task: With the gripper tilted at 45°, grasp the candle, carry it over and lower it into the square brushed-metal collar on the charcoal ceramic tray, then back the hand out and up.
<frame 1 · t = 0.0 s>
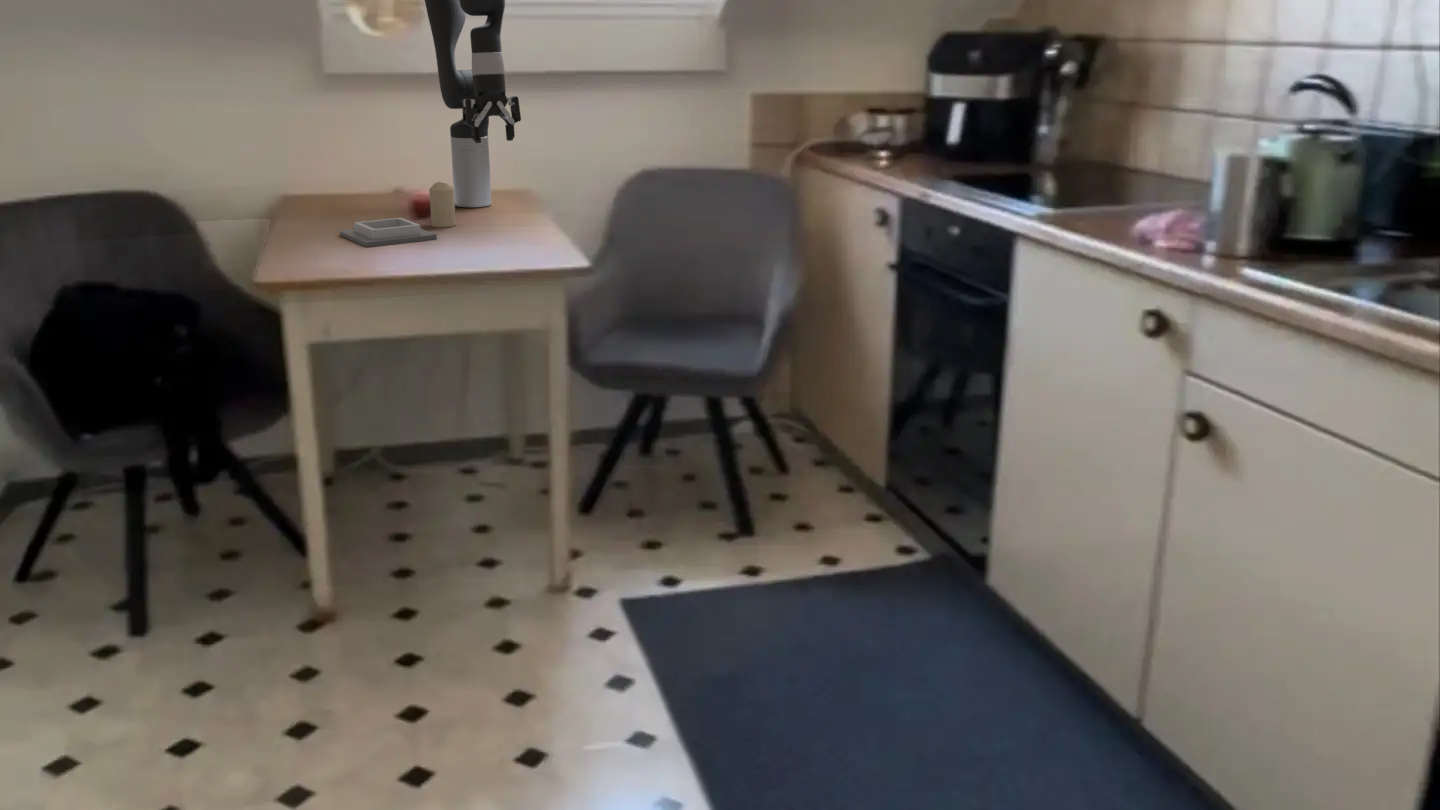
hand: (493, 141, 300), 17 cm above the table, tool pointing down, fingers open, 8 cm apart
candle: (443, 226, 289), on the table
candle tray: (388, 237, 275), on the table
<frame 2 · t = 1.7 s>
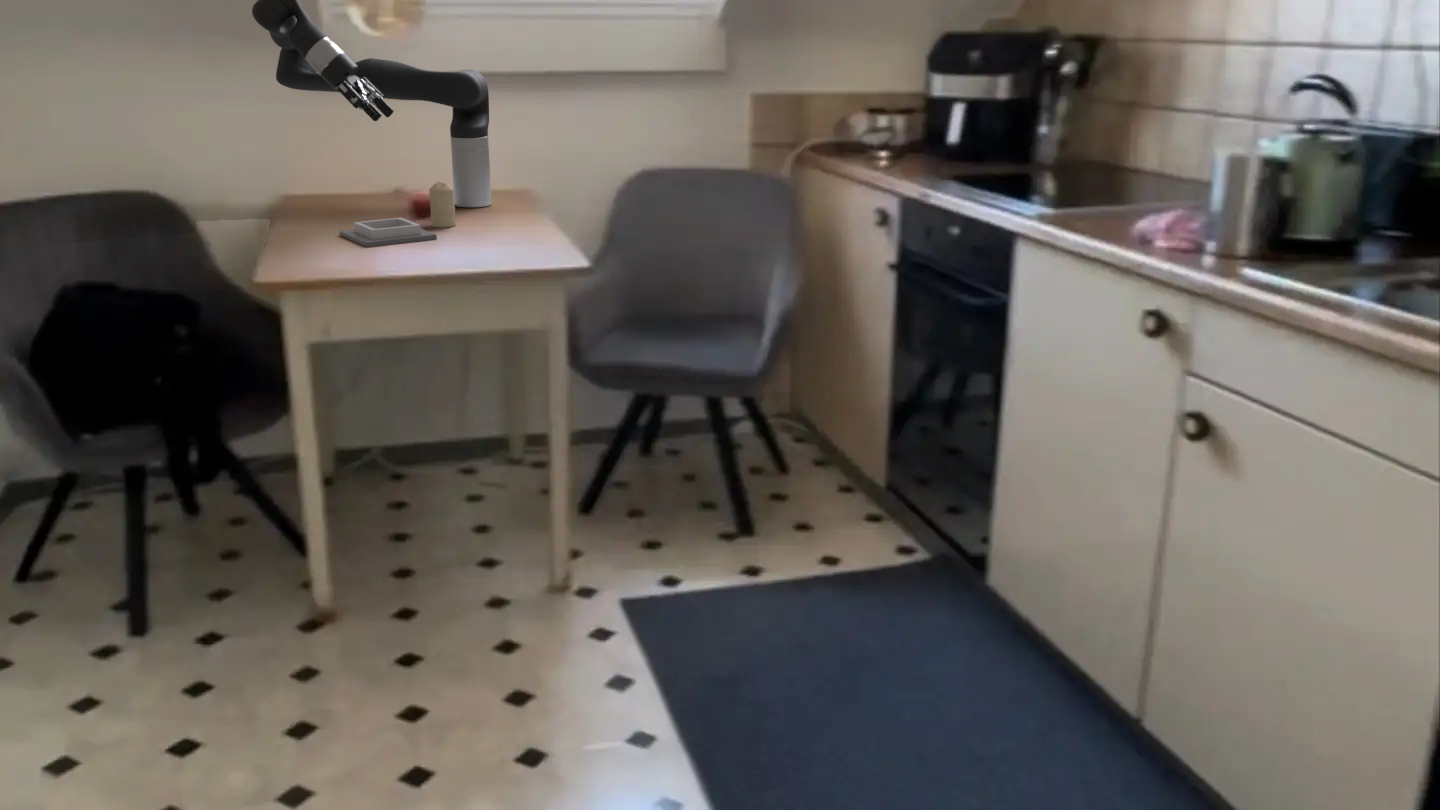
hand: (385, 116, 282), 25 cm above the table, tool tilted 45°, fingers open, 8 cm apart
nothing on the table moved.
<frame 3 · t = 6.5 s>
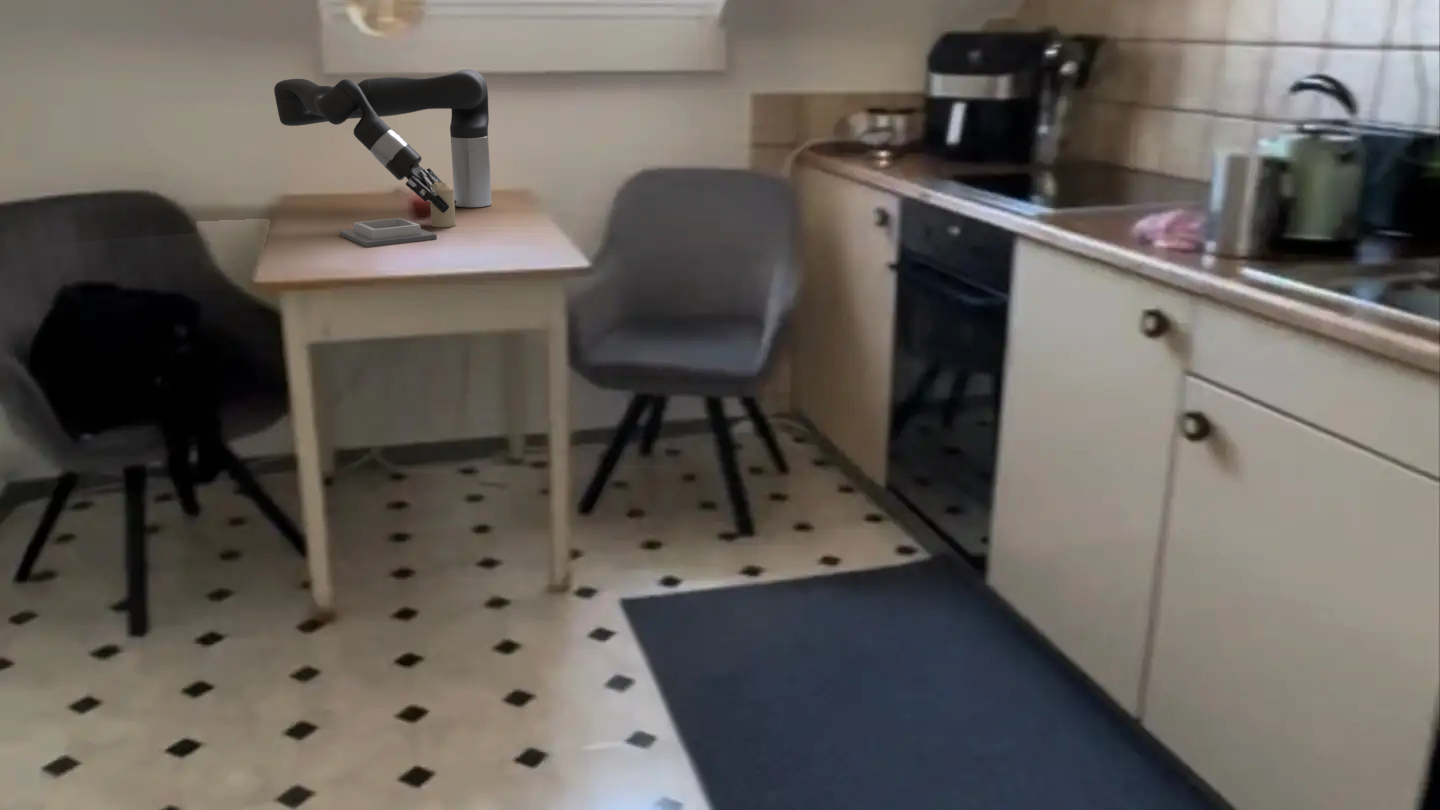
hand: (450, 207, 287), 4 cm above the table, tool tilted 45°, fingers closed on candle, 5 cm apart
candle: (443, 226, 289), on the table, touching gripper
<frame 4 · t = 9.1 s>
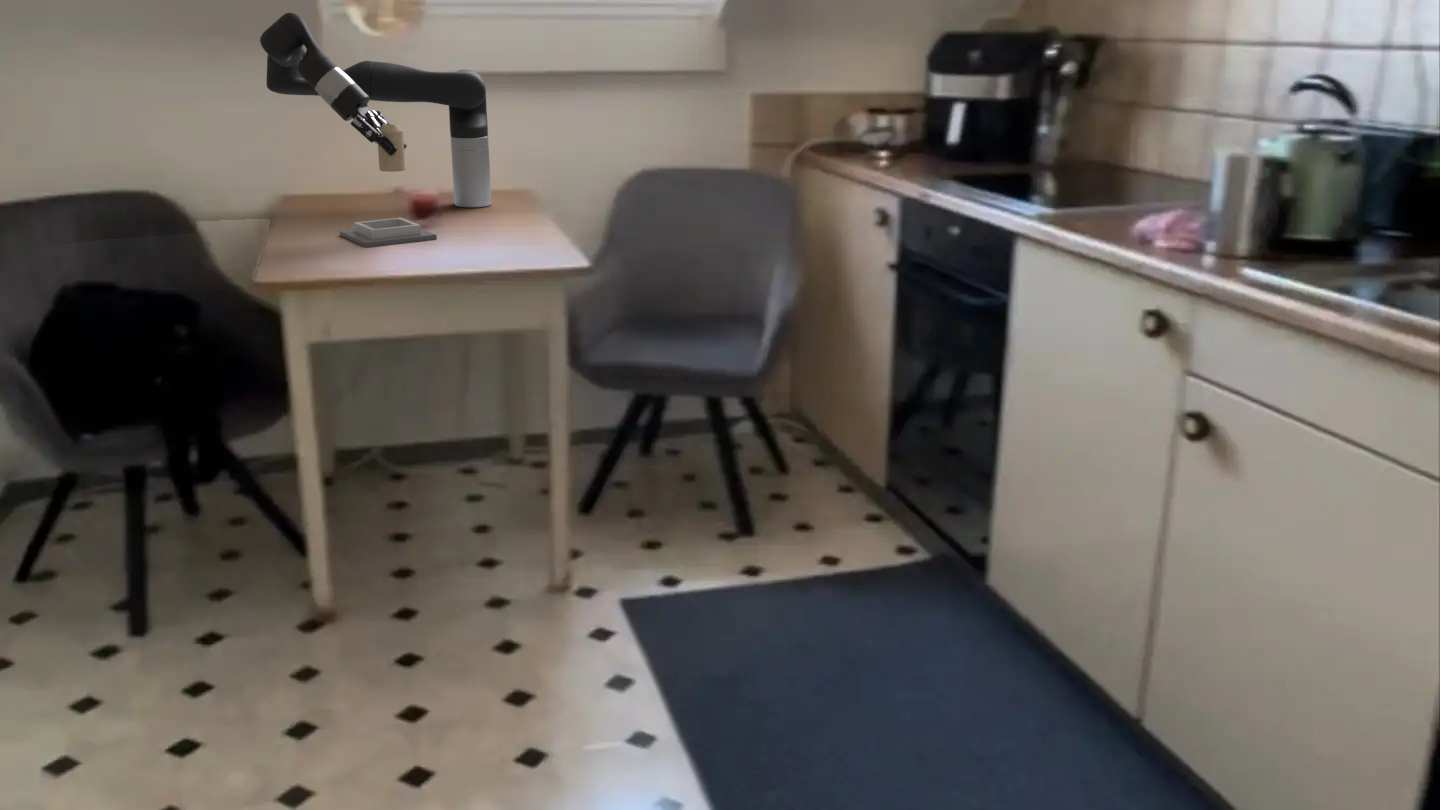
hand: (399, 150, 272), 19 cm above the table, tool tilted 45°, fingers closed on candle, 5 cm apart
candle: (392, 171, 274), point 14 cm above the table, touching gripper
when the fingers open (6 cm above the table, at t = 12.2 s): candle drops 1 cm, resting on candle tray.
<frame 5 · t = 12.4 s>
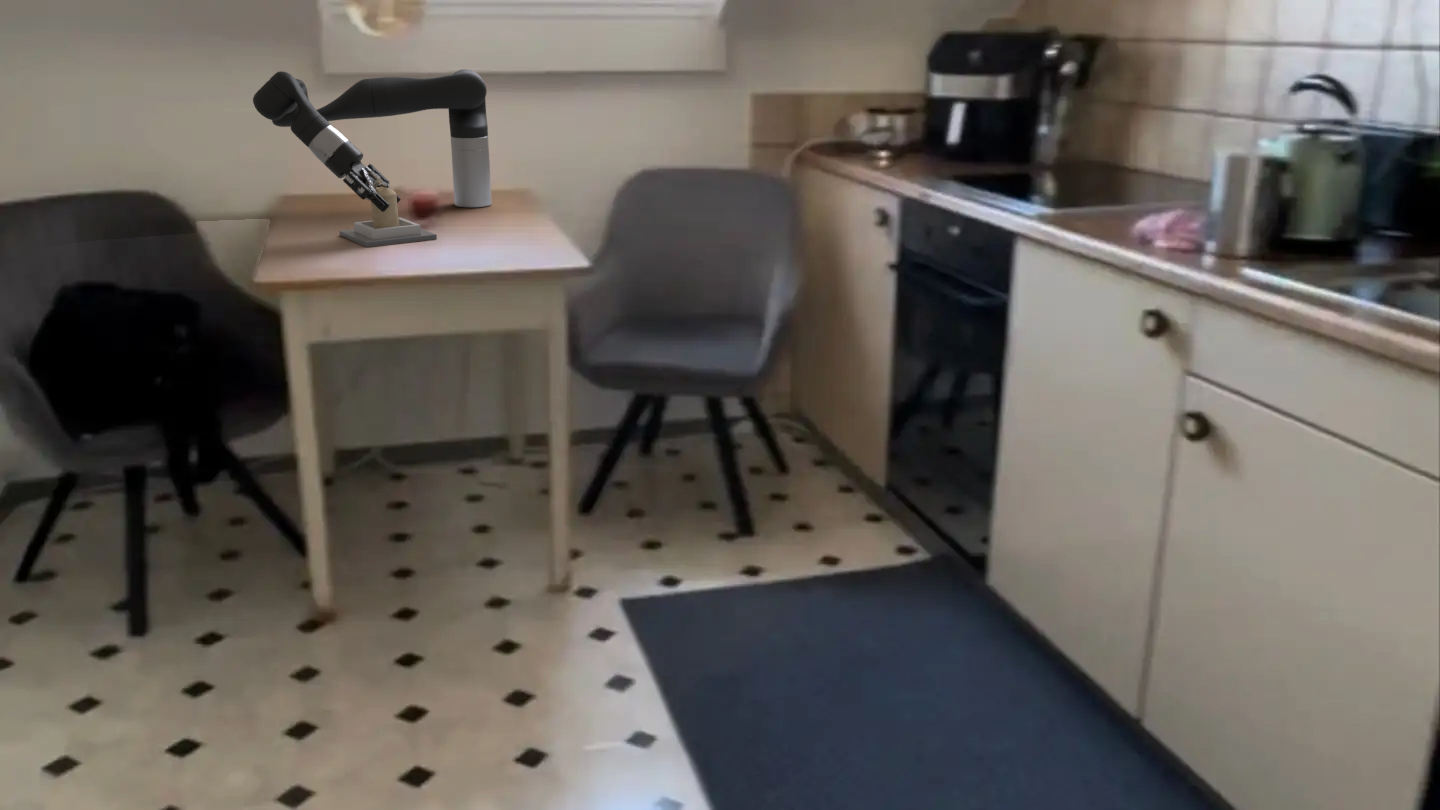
hand: (392, 205, 273), 7 cm above the table, tool tilted 45°, fingers open, 7 cm apart
candle: (386, 233, 275), point 1 cm above the table, touching candle tray
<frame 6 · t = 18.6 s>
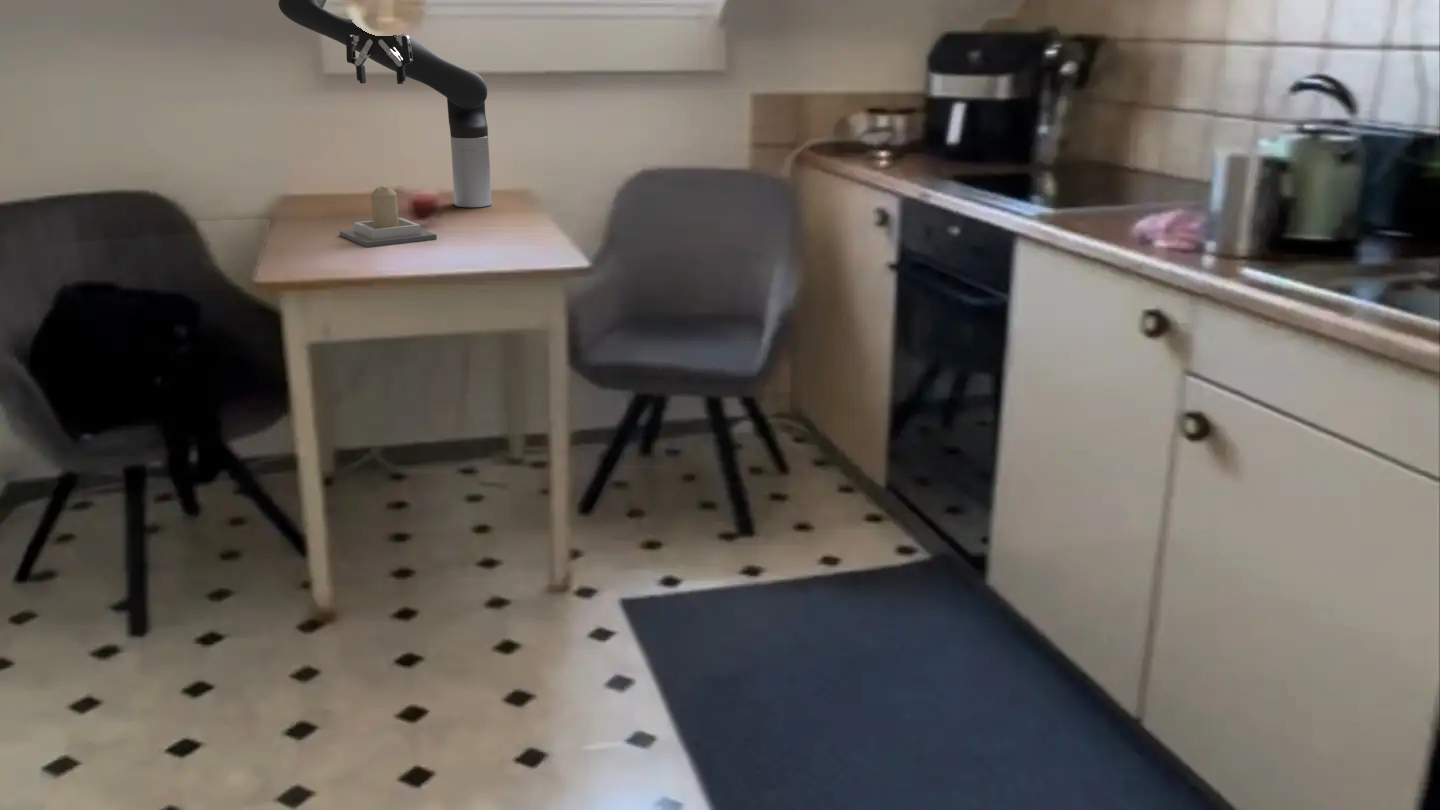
hand: (381, 83, 277), 32 cm above the table, tool pointing down, fingers open, 8 cm apart
nothing on the table moved.
at the end: candle 0.2 cm off-centre on the candle tray, point 0.8 cm above the candle tray's base; candle tilted 0°; the gripper is holding nothing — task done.
